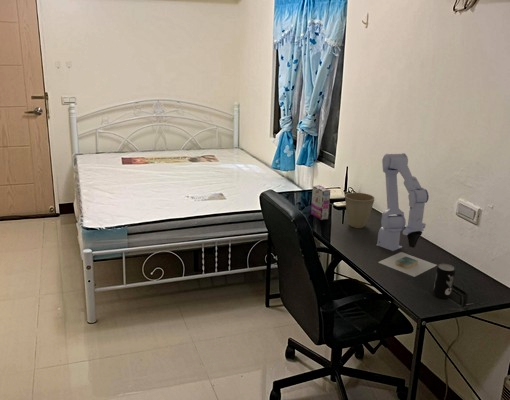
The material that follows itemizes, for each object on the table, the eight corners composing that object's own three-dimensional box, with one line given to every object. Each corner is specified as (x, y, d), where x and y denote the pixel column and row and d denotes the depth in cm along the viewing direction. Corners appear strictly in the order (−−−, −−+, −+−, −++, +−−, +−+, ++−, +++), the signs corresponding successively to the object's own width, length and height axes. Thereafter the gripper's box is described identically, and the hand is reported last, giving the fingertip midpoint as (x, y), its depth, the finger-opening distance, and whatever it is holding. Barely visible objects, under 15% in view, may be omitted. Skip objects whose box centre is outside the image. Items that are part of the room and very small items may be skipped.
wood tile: (405, 259, 220) (395, 264, 215) (405, 256, 220) (395, 260, 215) (417, 264, 216) (407, 269, 211) (418, 260, 215) (407, 265, 210)
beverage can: (439, 300, 186) (444, 271, 183) (429, 292, 192) (433, 264, 189) (454, 298, 188) (459, 269, 184) (444, 290, 194) (448, 262, 190)
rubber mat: (377, 263, 217) (377, 262, 217) (401, 252, 228) (401, 251, 228) (414, 277, 204) (414, 276, 204) (437, 266, 215) (437, 265, 215)
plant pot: (374, 231, 254) (377, 201, 249) (345, 230, 254) (347, 200, 250) (368, 221, 268) (371, 192, 264) (340, 220, 269) (343, 191, 264)
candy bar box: (328, 219, 270) (331, 190, 265) (321, 220, 268) (323, 191, 263) (318, 212, 279) (319, 184, 274) (310, 214, 277) (312, 185, 272)
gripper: (414, 223, 203) (410, 253, 208) (433, 216, 213) (429, 245, 217) (399, 218, 208) (396, 248, 213) (418, 211, 218) (414, 240, 222)
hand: (412, 246), depth 215 cm, fingers closed
